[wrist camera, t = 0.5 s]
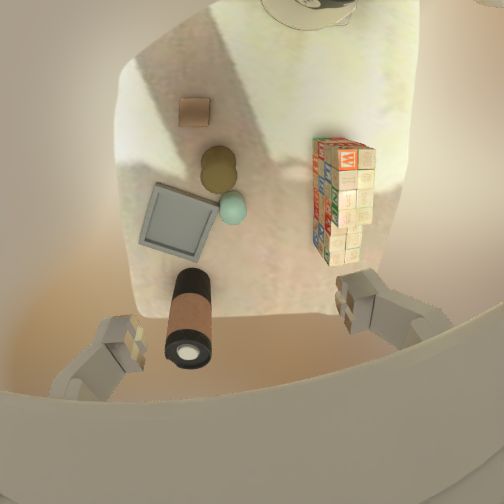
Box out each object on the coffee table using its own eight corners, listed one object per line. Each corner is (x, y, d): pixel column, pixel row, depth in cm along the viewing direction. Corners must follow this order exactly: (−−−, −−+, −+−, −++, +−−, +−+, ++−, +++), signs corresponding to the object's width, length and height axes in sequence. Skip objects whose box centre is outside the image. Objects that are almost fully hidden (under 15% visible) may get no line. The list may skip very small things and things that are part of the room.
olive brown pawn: (194, 156, 46) (188, 170, 36) (226, 139, 45) (228, 149, 35) (211, 185, 48) (210, 206, 39) (241, 169, 48) (248, 187, 38)
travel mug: (213, 268, 57) (214, 342, 40) (209, 297, 61) (210, 371, 43) (176, 264, 56) (163, 337, 38) (174, 294, 59) (164, 367, 42)
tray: (157, 182, 47) (154, 185, 45) (219, 203, 50) (219, 207, 49) (140, 238, 52) (138, 243, 50) (197, 257, 55) (197, 262, 54)
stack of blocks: (340, 239, 57) (365, 271, 47) (312, 243, 57) (333, 277, 46) (343, 137, 47) (377, 149, 36) (311, 137, 46) (339, 149, 36)
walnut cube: (183, 99, 40) (179, 98, 36) (210, 99, 41) (209, 98, 37) (182, 124, 43) (178, 126, 39) (208, 124, 43) (207, 126, 39)
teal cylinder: (225, 187, 49) (226, 196, 45) (247, 196, 50) (250, 205, 46) (216, 209, 51) (216, 219, 47) (238, 216, 52) (240, 228, 48)
